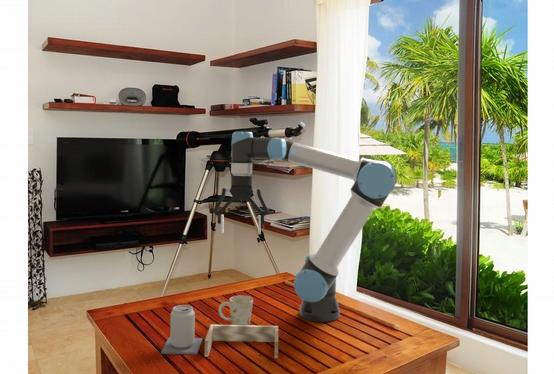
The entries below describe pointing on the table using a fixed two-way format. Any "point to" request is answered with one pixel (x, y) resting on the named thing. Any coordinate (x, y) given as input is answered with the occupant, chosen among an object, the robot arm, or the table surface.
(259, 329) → the u-shaped shelf bracket
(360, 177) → the robot arm
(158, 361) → the table surface
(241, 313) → the mug
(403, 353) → the table surface
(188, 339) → the can
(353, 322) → the table surface
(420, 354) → the table surface
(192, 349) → the mat
